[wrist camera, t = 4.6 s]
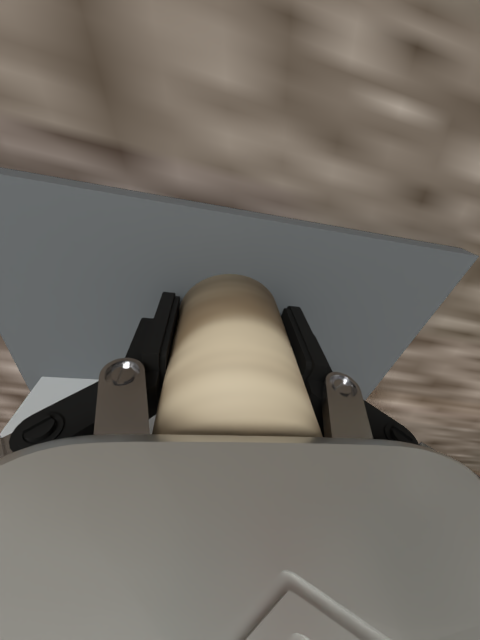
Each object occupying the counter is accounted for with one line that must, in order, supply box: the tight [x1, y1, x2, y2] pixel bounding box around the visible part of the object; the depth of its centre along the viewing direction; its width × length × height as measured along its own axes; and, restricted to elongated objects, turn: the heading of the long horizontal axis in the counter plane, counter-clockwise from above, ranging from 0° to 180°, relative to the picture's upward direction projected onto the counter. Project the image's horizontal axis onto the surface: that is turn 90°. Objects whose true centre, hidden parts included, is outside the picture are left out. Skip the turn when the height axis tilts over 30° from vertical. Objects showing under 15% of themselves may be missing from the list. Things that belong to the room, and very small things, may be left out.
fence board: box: [0, 167, 479, 437], centre depth 14 cm, size 22×22×6 cm
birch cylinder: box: [152, 274, 323, 437], centre depth 10 cm, size 5×5×7 cm
